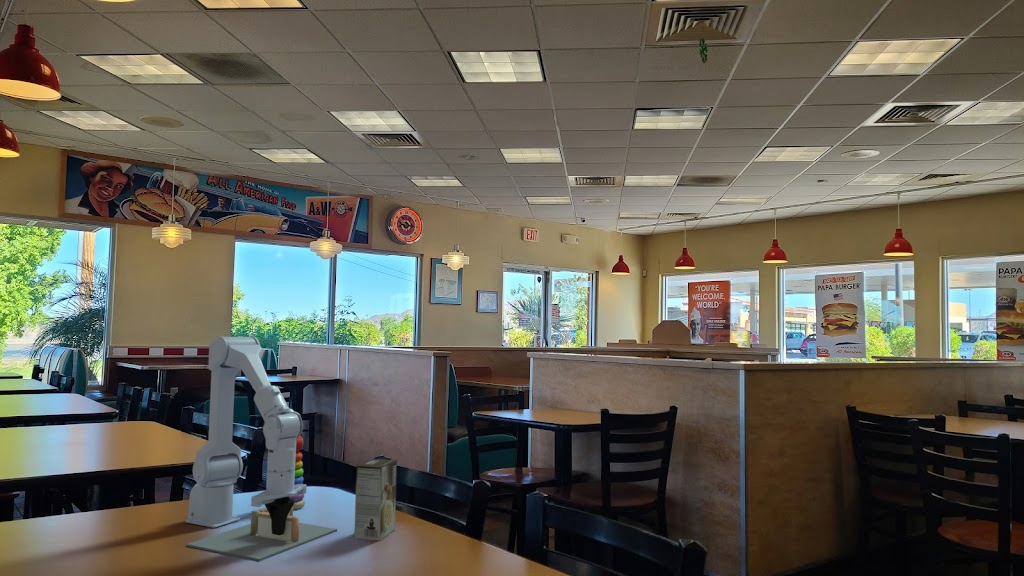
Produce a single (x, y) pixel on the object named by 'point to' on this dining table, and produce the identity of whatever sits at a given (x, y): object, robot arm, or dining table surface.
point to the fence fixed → (255, 520)
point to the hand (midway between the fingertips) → (278, 534)
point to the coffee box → (375, 499)
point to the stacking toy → (298, 475)
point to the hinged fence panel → (290, 527)
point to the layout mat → (257, 542)
